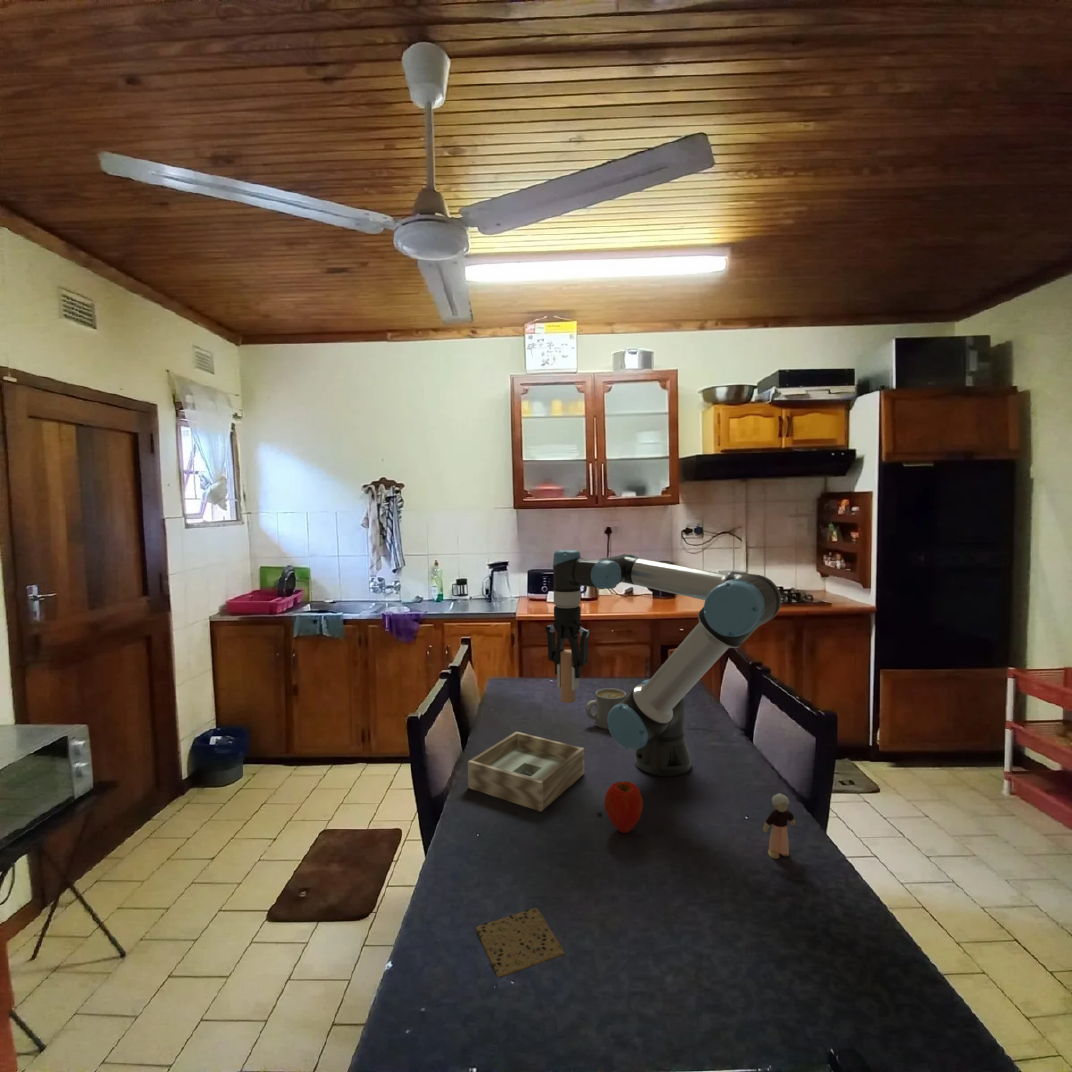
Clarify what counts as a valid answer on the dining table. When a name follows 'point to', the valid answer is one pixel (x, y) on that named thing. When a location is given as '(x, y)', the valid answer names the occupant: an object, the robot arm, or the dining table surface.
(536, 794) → the box
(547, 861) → the dining table surface
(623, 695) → the coffee mug
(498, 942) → the cookie
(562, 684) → the peg
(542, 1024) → the dining table surface
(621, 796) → the apple
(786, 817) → the grandmother figurine
